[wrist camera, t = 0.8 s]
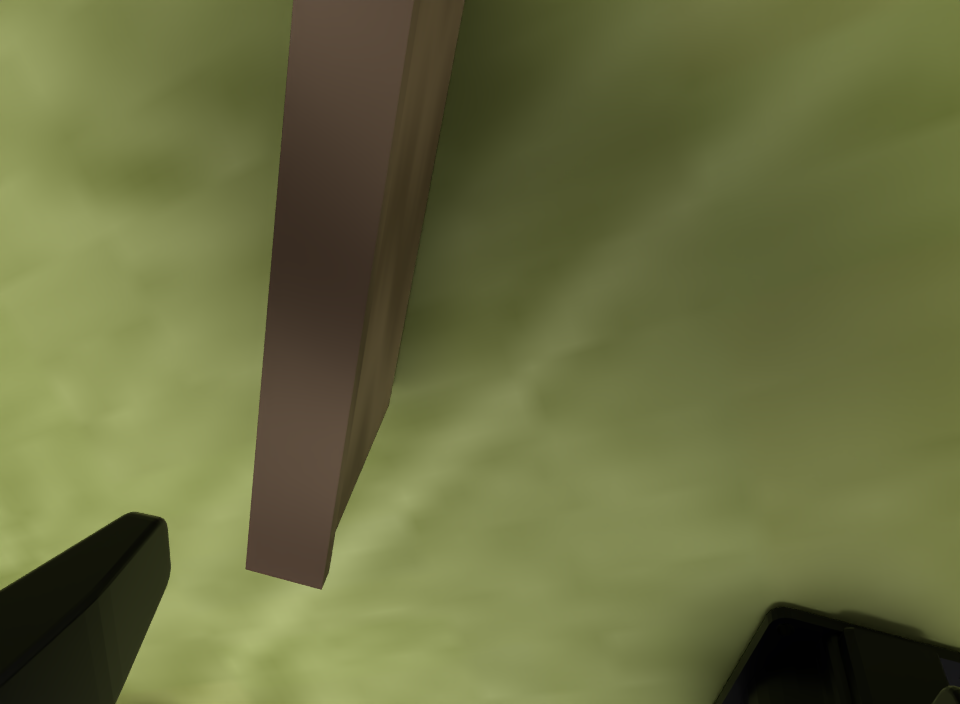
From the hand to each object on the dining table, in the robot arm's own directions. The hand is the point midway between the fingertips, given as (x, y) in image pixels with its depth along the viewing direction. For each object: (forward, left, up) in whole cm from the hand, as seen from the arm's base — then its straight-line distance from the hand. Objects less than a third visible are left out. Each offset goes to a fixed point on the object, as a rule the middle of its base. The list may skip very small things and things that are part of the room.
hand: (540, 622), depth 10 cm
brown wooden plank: (0, +4, -11) cm, 12 cm away
